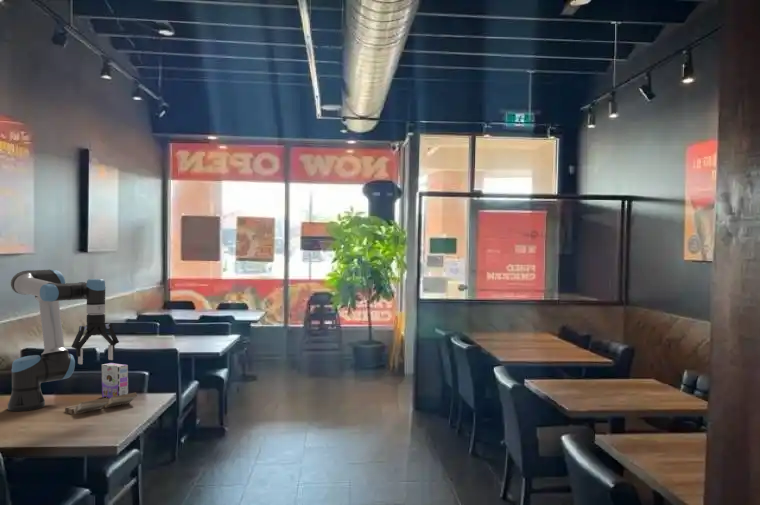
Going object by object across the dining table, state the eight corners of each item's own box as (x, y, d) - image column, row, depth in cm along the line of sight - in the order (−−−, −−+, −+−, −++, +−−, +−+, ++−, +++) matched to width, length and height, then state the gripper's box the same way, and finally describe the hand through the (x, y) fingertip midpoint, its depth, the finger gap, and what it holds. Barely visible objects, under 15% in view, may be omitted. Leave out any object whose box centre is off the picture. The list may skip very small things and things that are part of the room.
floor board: (65, 411, 285) (64, 407, 285) (121, 400, 306) (121, 396, 306) (72, 414, 281) (72, 409, 281) (129, 402, 301) (129, 398, 301)
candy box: (128, 398, 312) (128, 364, 312) (118, 400, 307) (118, 366, 307) (111, 394, 319) (111, 362, 319) (101, 397, 314) (100, 364, 315)
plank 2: (105, 407, 292) (104, 403, 292) (129, 402, 301) (128, 399, 301) (113, 400, 287) (111, 396, 288) (137, 396, 296) (136, 392, 297)
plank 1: (74, 413, 281) (73, 409, 281) (100, 408, 290) (99, 404, 290) (82, 406, 276) (81, 402, 277) (108, 401, 285) (107, 397, 286)
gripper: (71, 316, 268) (71, 366, 268) (126, 312, 287) (126, 359, 287) (63, 315, 273) (63, 364, 273) (118, 311, 292) (118, 357, 292)
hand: (95, 361), depth 280 cm, fingers open, 13 cm apart
